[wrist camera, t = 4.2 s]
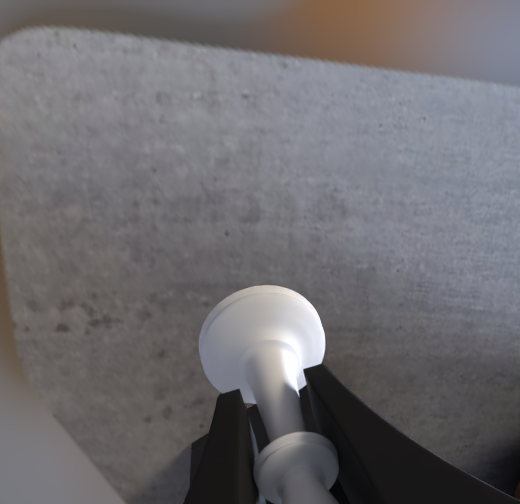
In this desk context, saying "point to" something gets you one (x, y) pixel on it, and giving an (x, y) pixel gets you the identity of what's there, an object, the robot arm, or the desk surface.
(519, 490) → the bowl
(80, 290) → the desk surface
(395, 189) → the desk surface
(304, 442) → the chess piece
